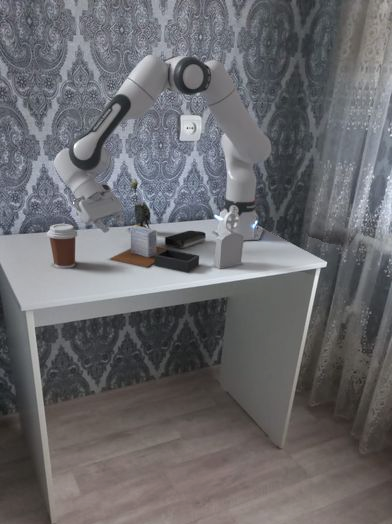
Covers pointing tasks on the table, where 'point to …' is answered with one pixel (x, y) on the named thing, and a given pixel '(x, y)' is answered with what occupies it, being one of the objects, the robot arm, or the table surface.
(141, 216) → the plant with pod
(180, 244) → the black sponge
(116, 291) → the table surface
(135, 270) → the table surface
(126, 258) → the desk pad
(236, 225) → the gravestone
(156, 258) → the frame
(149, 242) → the medicine box
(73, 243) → the coffee cup
